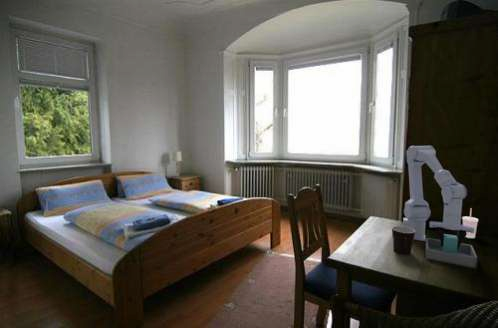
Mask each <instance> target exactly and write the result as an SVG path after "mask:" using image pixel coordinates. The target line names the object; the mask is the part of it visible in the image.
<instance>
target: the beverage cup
mask: <svg viewBox="0 0 498 328" xmlns="http://www.w3.org/2000/svg"><path fill="white" fill-rule="evenodd" d="M469 209H470V211H469V216H467V215H466V216H461V220H462V225H464V226H469V227H474V233H470V232H466V233H467V235H466V237H465V238H467V239H475V238H476V234H477V226H478V223H479V219H478V218H476V217H473V216H472V209H473V208H472V207H471V208H469Z"/></svg>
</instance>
